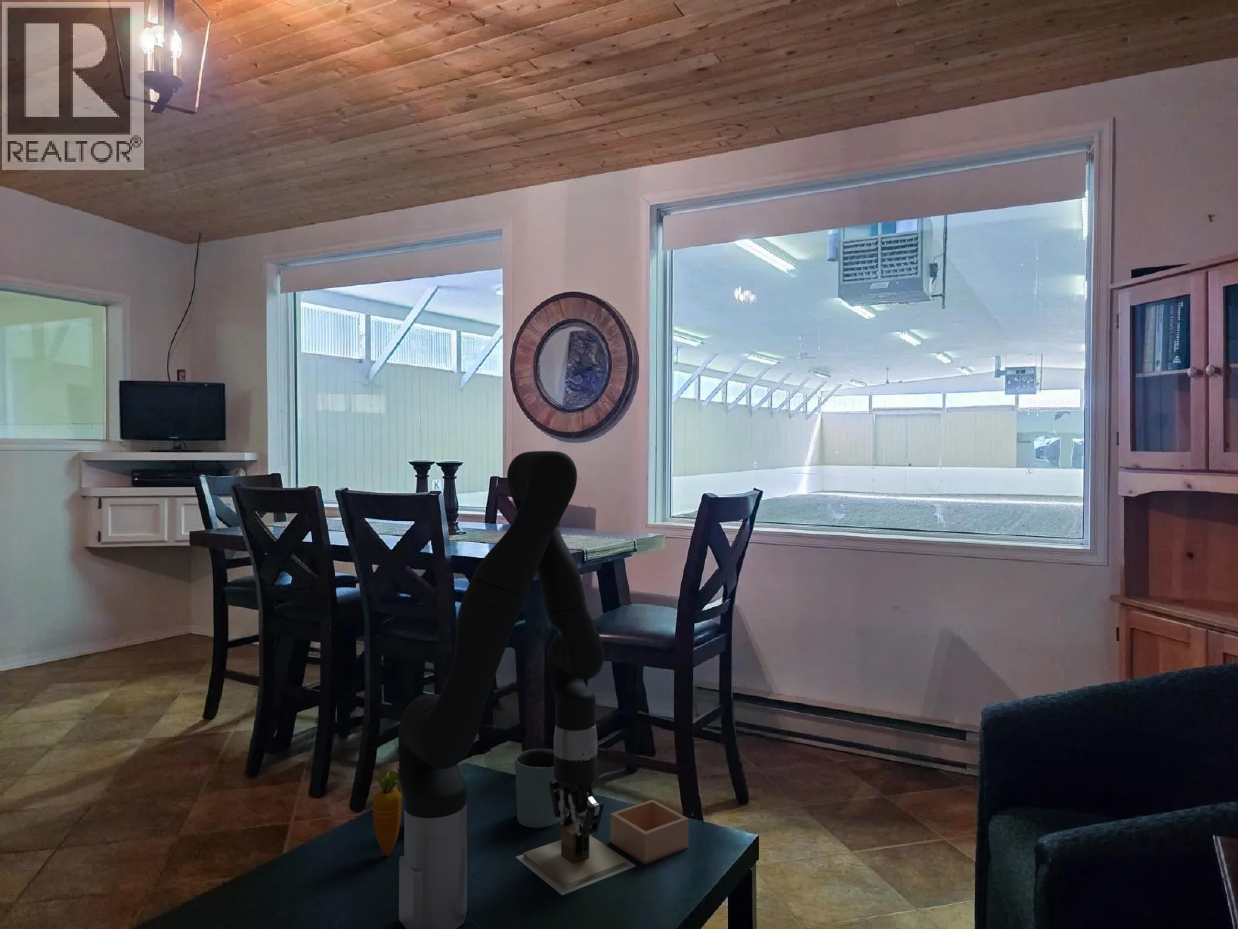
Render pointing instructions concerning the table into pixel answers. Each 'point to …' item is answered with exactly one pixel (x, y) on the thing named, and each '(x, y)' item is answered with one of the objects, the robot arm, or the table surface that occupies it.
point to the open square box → (649, 831)
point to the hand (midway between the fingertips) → (575, 849)
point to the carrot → (387, 812)
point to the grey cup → (535, 788)
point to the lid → (574, 859)
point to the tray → (562, 892)
